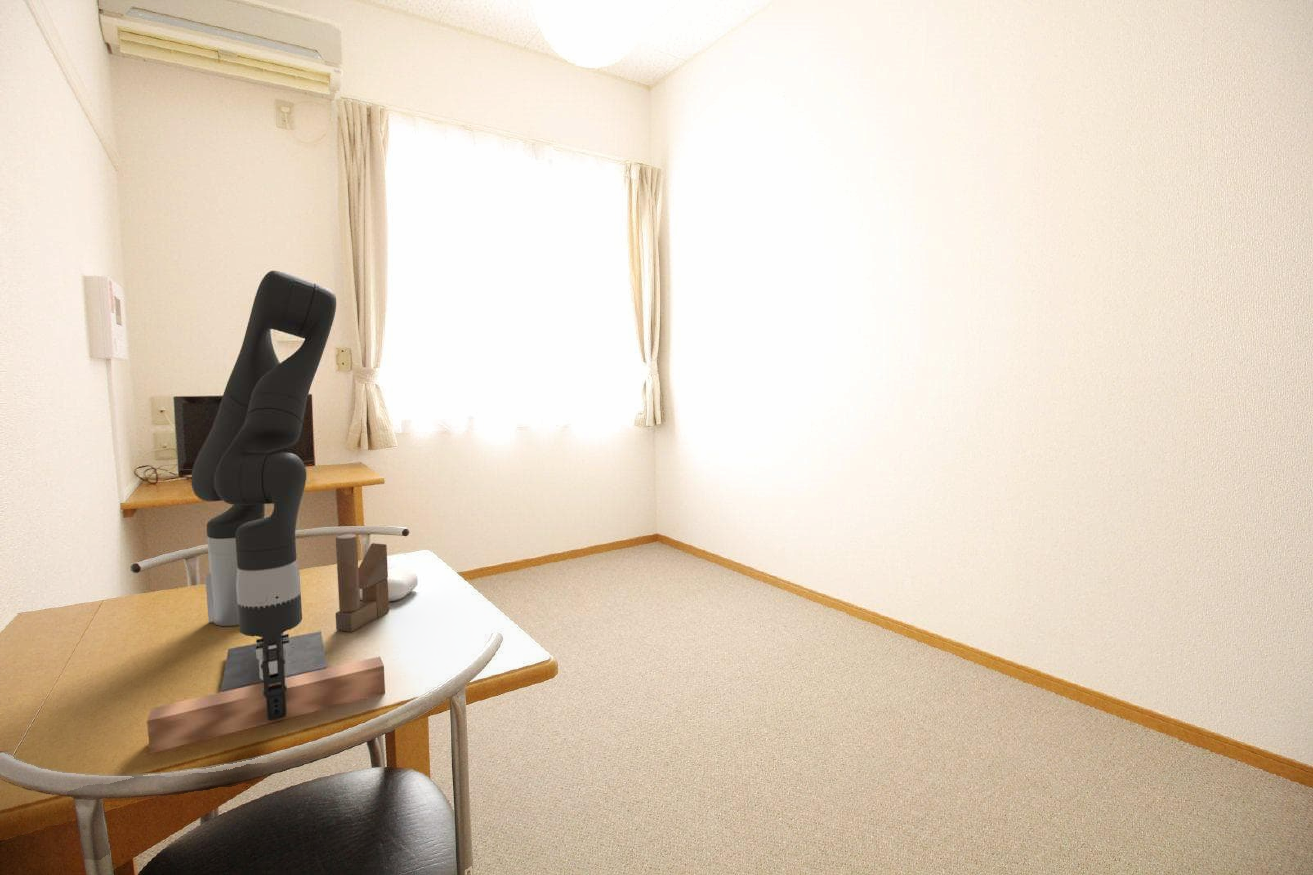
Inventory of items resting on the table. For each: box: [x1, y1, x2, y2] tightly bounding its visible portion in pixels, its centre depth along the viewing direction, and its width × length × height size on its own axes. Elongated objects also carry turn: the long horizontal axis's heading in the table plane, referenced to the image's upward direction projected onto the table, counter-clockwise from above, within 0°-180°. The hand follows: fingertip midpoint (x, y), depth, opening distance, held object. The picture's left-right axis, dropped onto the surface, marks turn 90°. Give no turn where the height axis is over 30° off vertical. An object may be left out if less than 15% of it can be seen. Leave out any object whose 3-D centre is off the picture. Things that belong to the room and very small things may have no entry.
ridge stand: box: [220, 630, 328, 692], centre depth 102 cm, size 16×14×10 cm
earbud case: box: [359, 568, 419, 602], centre depth 135 cm, size 10×13×5 cm
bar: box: [146, 656, 386, 754], centre depth 88 cm, size 28×4×4 cm, turn 123°
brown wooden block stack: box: [335, 533, 390, 633], centre depth 120 cm, size 4×11×18 cm, turn 165°
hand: (277, 710), depth 88 cm, fingers closed on bar, 3 cm apart
